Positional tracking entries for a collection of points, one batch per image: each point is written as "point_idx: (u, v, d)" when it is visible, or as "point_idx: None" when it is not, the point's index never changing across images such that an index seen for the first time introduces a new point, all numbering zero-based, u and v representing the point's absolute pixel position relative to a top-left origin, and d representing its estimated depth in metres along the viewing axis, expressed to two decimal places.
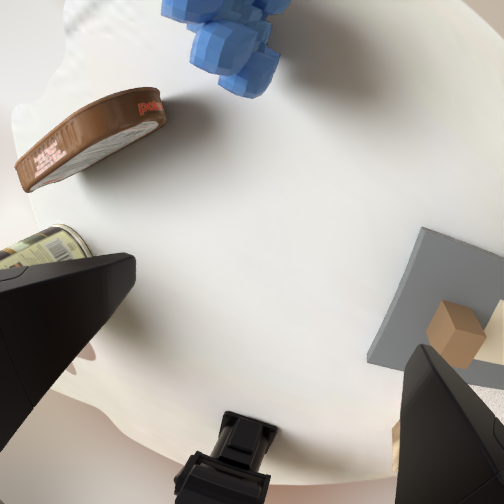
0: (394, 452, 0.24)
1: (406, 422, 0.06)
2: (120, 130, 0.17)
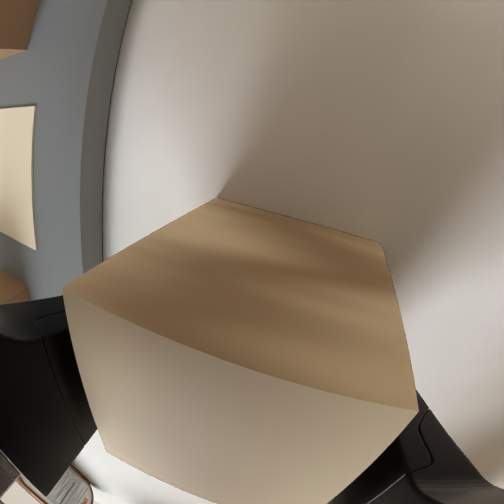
0: None
1: None
2: None
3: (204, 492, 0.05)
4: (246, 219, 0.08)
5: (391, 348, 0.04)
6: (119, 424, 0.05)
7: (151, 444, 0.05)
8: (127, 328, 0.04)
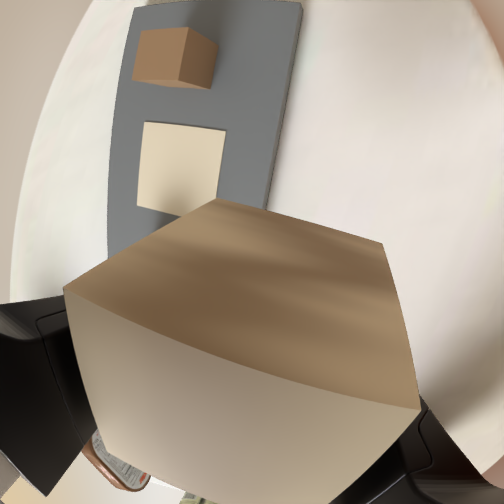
0: None
1: None
2: (89, 439, 0.29)
3: (205, 492, 0.05)
4: (247, 219, 0.08)
5: (393, 348, 0.04)
6: (120, 424, 0.05)
7: (151, 444, 0.05)
8: (129, 328, 0.04)
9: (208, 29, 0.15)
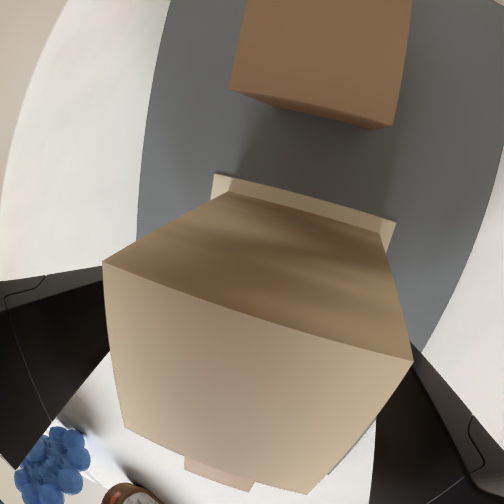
0: None
1: (382, 418, 0.07)
2: None
3: (219, 461, 0.06)
4: (257, 209, 0.09)
5: (388, 313, 0.05)
6: (143, 394, 0.06)
7: (173, 411, 0.06)
8: (165, 293, 0.04)
9: None
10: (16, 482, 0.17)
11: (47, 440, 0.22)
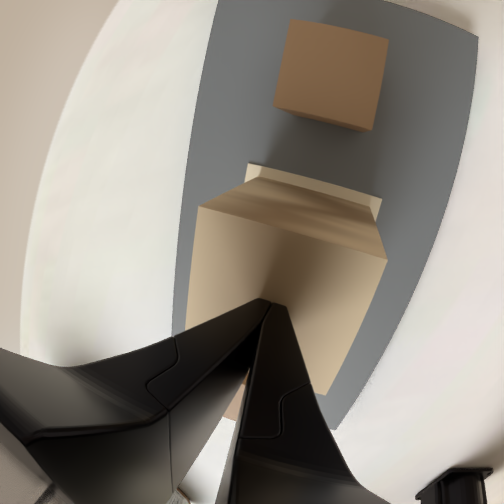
0: None
1: (246, 382, 0.07)
2: None
3: None
4: (282, 187, 0.12)
5: (372, 241, 0.08)
6: (210, 306, 0.09)
7: None
8: (242, 222, 0.08)
9: None
10: None
11: None
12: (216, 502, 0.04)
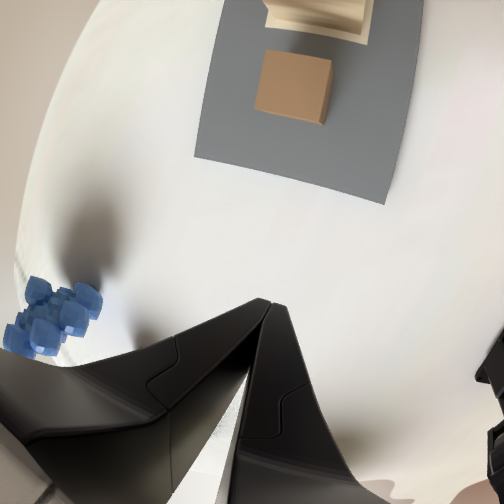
0: (355, 10, 0.10)
1: (246, 382, 0.07)
2: None
3: None
4: None
5: None
6: None
7: None
8: None
9: None
10: (5, 337, 0.19)
11: (54, 293, 0.25)
12: (216, 502, 0.04)
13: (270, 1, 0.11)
